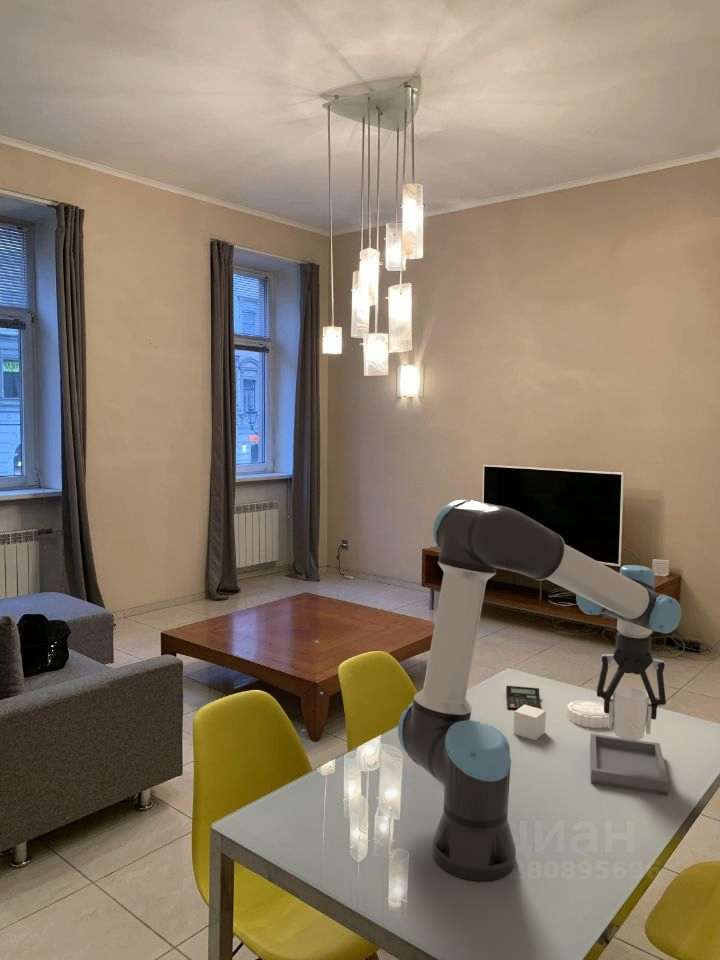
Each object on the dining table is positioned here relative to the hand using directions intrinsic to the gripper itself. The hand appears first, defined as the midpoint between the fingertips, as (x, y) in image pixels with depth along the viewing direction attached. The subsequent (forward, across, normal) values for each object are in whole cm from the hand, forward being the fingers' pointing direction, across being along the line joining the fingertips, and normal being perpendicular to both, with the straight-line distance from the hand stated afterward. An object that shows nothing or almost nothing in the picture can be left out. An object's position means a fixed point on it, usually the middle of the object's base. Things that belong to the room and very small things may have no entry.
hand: (628, 729), depth 169 cm
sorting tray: (+10, 0, 0) cm, 10 cm away
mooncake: (+10, +8, -27) cm, 30 cm away
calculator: (+10, +26, -32) cm, 43 cm away
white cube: (+10, +23, -12) cm, 28 cm away
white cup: (+1, 0, 0) cm, 1 cm away
